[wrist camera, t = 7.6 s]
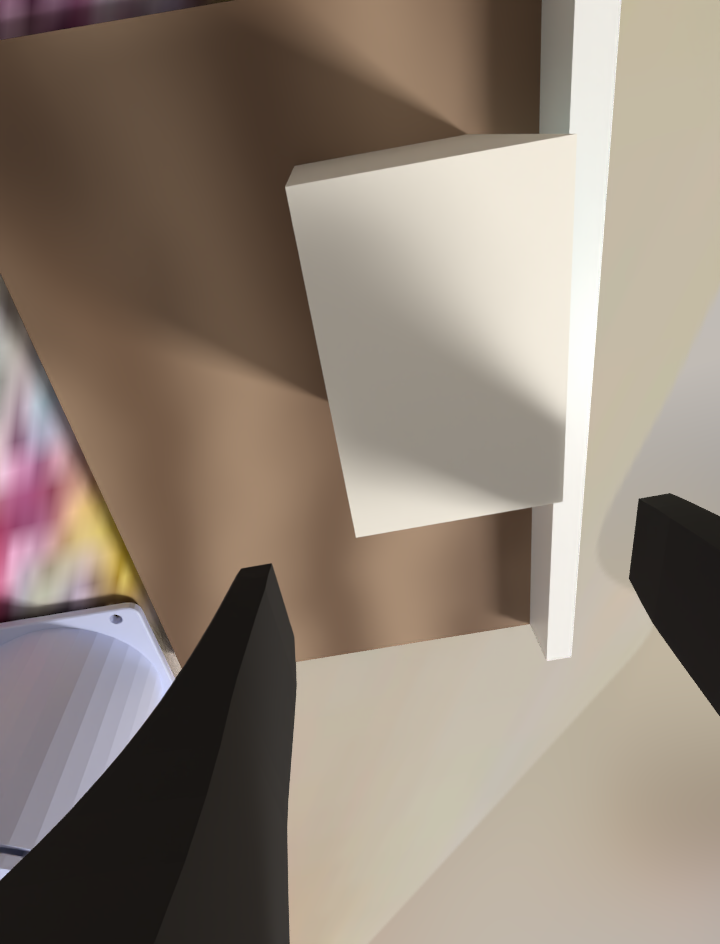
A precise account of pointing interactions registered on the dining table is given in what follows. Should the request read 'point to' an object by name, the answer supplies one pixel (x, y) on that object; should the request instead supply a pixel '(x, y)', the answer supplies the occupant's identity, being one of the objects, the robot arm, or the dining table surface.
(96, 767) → the robot arm
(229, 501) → the brown tray
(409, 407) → the carton
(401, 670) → the dining table surface
